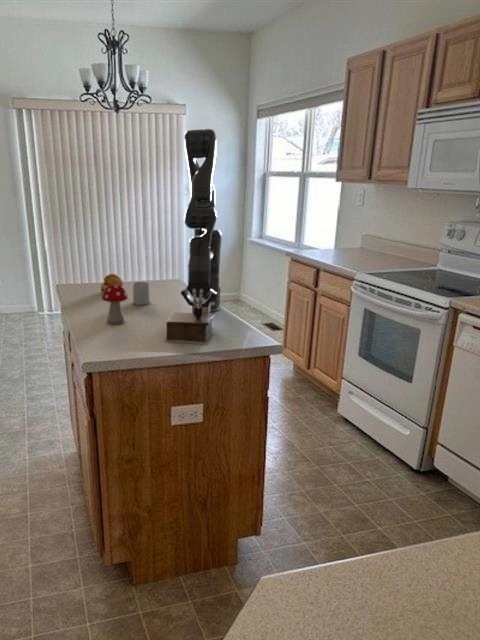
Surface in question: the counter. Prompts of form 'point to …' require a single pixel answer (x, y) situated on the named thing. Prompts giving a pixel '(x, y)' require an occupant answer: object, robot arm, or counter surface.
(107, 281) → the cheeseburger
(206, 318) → the lid
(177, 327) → the chest
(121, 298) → the decorative mushroom
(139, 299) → the cup
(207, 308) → the cookie packet
